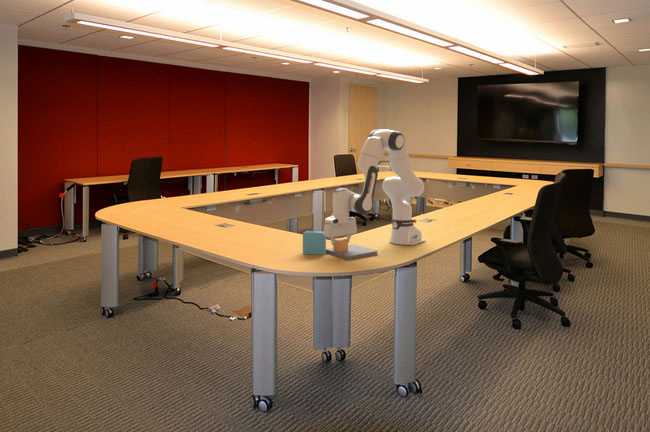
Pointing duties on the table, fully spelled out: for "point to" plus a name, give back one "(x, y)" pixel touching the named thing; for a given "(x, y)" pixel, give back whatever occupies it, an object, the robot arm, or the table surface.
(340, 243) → the orange cube
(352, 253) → the board
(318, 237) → the data package
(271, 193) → the table surface
